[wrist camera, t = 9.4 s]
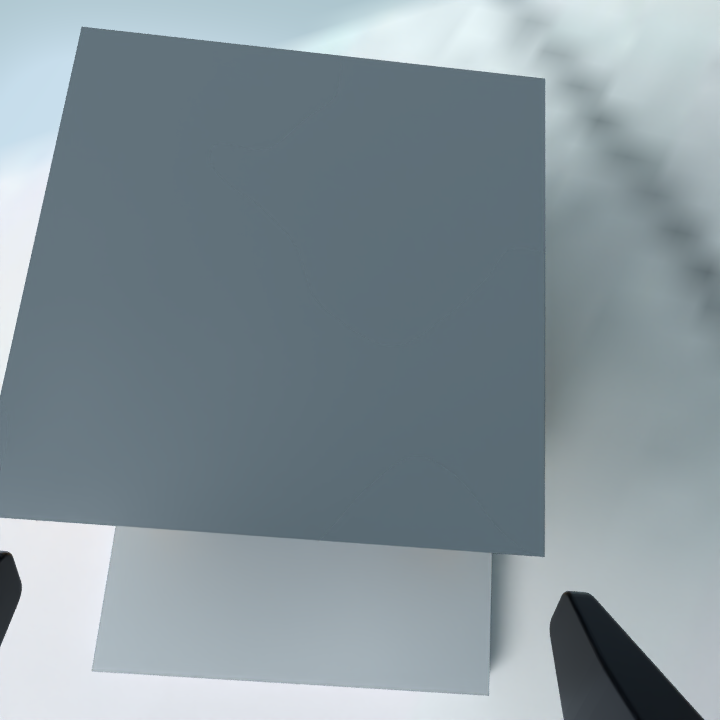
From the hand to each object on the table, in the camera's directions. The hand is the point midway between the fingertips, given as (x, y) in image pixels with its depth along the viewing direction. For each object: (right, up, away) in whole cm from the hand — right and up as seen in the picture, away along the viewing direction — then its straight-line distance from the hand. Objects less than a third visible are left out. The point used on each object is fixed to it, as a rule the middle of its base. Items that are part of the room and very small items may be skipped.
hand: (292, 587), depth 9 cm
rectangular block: (0, +2, +8) cm, 8 cm away
